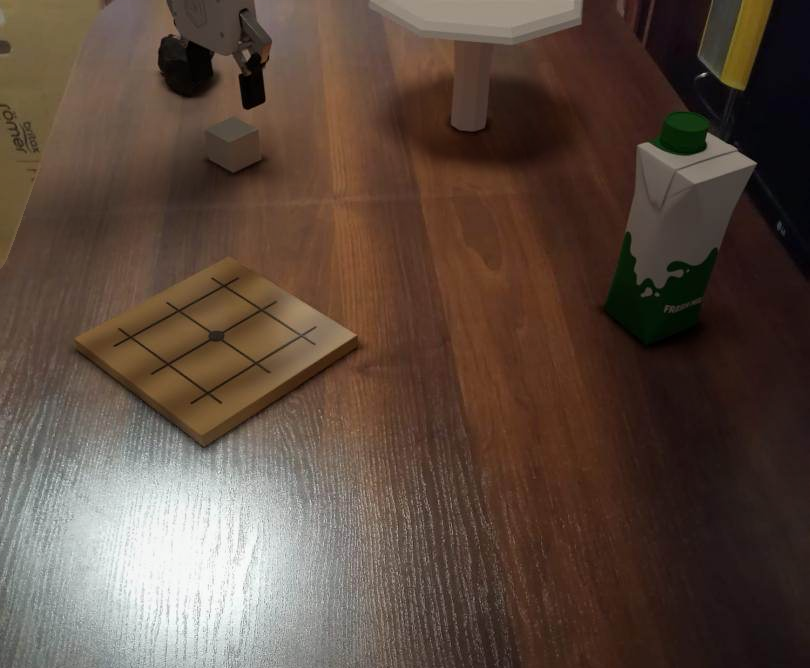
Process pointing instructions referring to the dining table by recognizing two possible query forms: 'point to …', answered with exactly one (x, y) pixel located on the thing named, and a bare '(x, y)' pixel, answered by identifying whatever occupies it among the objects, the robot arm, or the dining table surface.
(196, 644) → the dining table surface
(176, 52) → the rock
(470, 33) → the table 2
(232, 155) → the two-tone grey box
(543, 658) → the dining table surface
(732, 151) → the milk carton
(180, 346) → the board
